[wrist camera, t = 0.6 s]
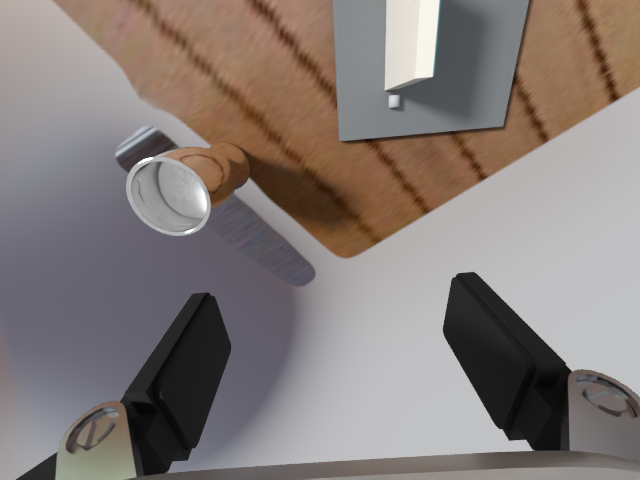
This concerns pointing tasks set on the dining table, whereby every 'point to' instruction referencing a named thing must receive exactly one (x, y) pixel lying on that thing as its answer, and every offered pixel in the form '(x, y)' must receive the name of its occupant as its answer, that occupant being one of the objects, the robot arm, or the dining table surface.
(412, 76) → the tile
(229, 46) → the dining table surface
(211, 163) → the beer glass
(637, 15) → the dining table surface
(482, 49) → the mat
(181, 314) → the robot arm
